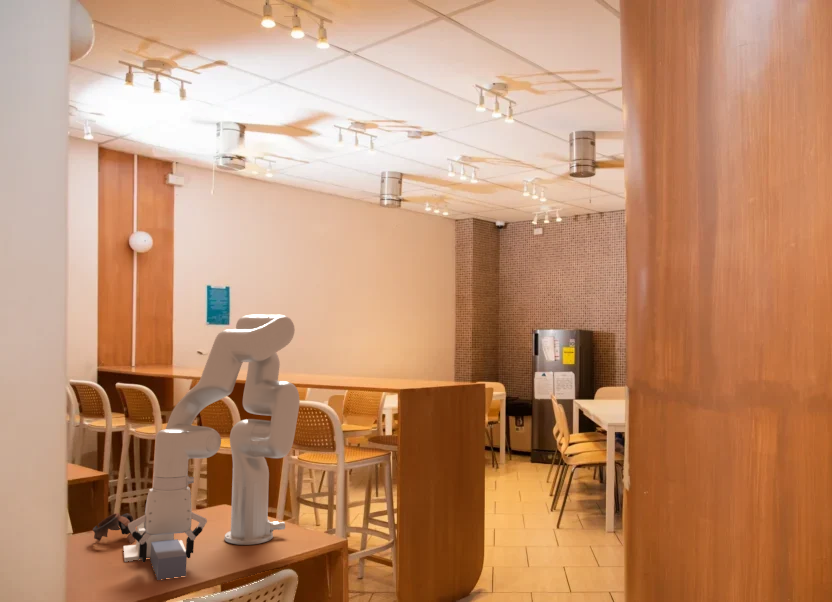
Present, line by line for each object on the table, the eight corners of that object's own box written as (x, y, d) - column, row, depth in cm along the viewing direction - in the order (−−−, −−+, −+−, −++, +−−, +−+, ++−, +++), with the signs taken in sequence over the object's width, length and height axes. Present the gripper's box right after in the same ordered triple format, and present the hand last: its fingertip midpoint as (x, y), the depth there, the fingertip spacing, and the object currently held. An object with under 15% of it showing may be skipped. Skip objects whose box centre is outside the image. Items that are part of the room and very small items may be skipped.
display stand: (181, 544, 181) (182, 516, 181) (186, 555, 171) (187, 526, 172) (123, 549, 175) (124, 521, 175) (124, 561, 166) (125, 532, 166)
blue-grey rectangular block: (176, 560, 169) (177, 539, 169) (185, 578, 156) (186, 555, 157) (150, 563, 166) (151, 542, 166) (157, 582, 154) (158, 559, 154)
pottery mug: (129, 549, 177) (112, 522, 176) (98, 563, 178) (81, 537, 177) (149, 525, 189) (133, 499, 188) (120, 538, 190) (104, 513, 189)
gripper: (206, 478, 169) (202, 550, 168) (129, 482, 162) (125, 557, 161) (210, 484, 162) (207, 559, 161) (130, 488, 155) (126, 567, 154)
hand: (166, 558), depth 161 cm, fingers open, 9 cm apart
